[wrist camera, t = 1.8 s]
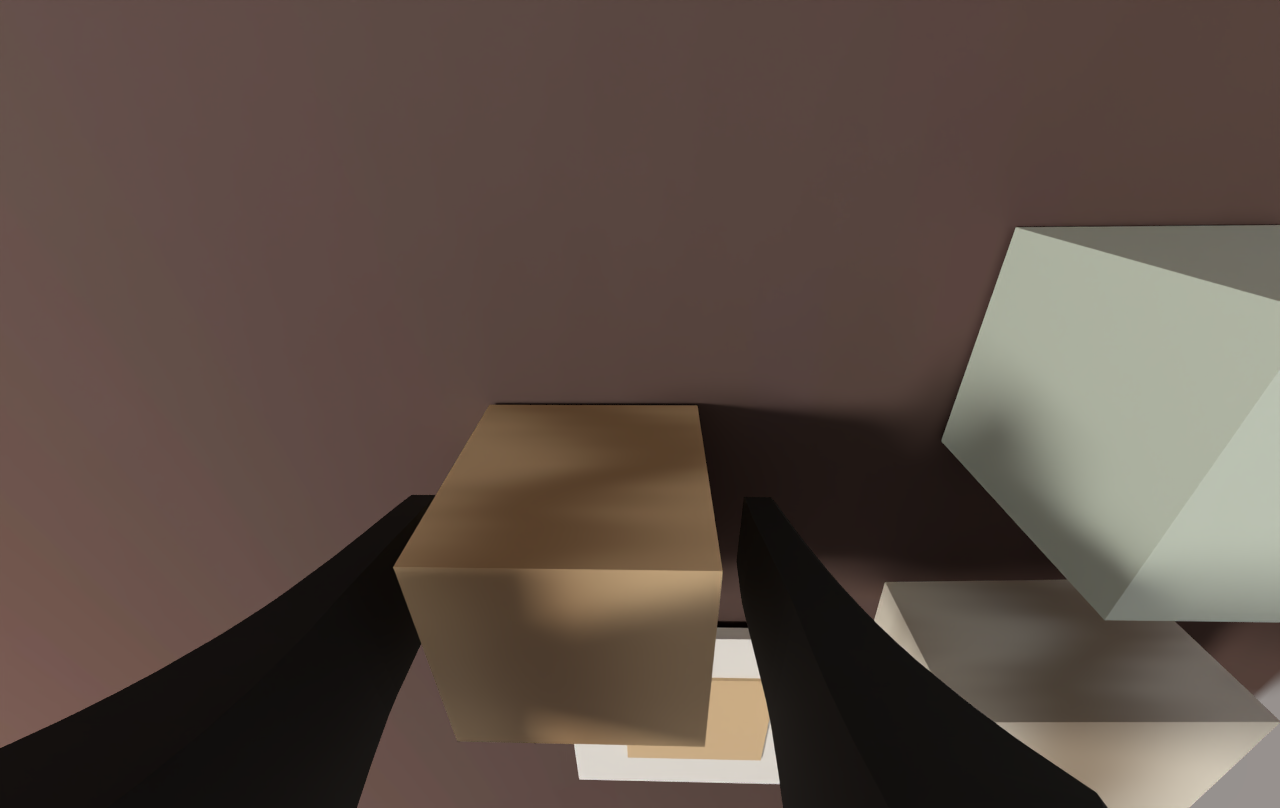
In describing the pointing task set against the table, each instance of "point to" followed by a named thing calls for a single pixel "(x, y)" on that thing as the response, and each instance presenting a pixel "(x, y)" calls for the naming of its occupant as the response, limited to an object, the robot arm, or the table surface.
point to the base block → (1082, 684)
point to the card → (732, 732)
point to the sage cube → (1136, 414)
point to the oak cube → (571, 578)
